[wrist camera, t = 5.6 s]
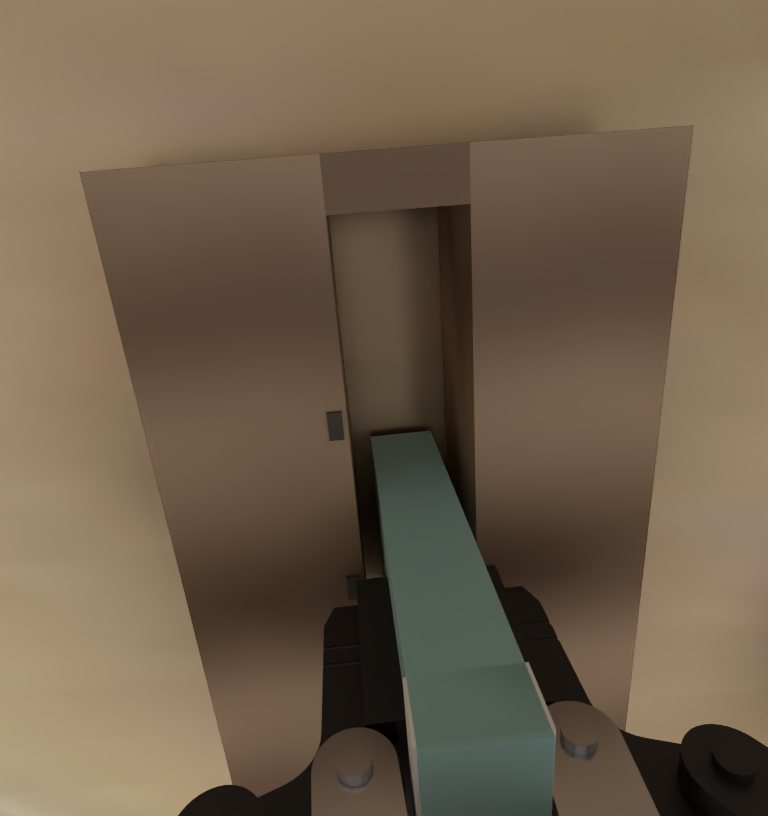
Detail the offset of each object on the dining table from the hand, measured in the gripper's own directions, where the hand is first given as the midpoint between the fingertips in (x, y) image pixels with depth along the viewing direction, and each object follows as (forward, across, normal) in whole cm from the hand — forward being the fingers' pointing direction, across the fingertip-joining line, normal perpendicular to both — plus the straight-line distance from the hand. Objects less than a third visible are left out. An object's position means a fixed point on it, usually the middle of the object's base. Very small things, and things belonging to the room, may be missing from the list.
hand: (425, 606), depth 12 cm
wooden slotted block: (+4, 0, 0) cm, 4 cm away
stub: (+4, 0, 0) cm, 4 cm away
